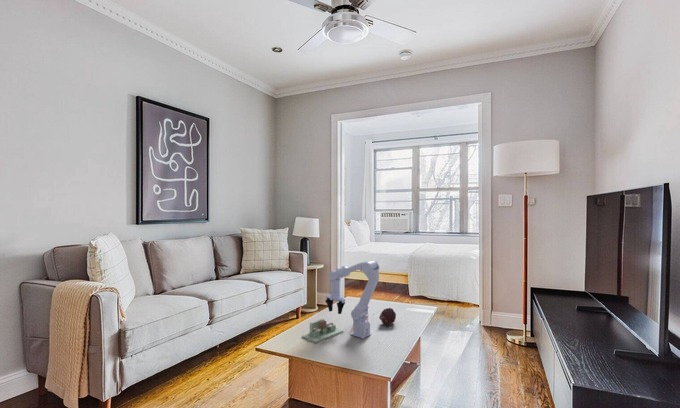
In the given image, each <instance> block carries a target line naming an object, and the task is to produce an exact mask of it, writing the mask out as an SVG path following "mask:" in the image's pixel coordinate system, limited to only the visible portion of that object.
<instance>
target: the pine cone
mask: <svg viewBox="0 0 680 408" xmlns="http://www.w3.org/2000/svg"><path fill="white" fill-rule="evenodd" d="M396 317H397V314H396V312H395V310H394V309H393V308H391V307H389V308H384V309H383V310H382V311H381V312H380V313H379V320H381V323H382V324H383V325H385V326H390V325H393V323H395V320H396V319H397V318H396Z"/></svg>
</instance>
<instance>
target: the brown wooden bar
mask: <svg viewBox="0 0 680 408" xmlns="http://www.w3.org/2000/svg"><path fill="white" fill-rule="evenodd" d="M333 324H334V323H333V322H330V323H327V321H326V320H325V319H324V320H321V321H319V327H318V328H314V329H312V332H315V331H316V332H318V331H321V329H325V328H326V327H332V325H333Z"/></svg>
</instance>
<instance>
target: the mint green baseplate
mask: <svg viewBox="0 0 680 408" xmlns="http://www.w3.org/2000/svg"><path fill="white" fill-rule="evenodd" d="M321 320H324V321H325V318H319V319H317V320H313V321H309V333H305V334H303V335H301V338H303V339H304V340H308V341H311V342H313V343H314V344H318V343H320V342H323V341H325V340H328V339H330V338H333V337H336V336H338V335H340V334H341V335H342V333H344V329H339V328H336V324H334V323H333V325H332V327H326V328H325V329H321V331H318V332H316V331H315V332H312V329H314V328H318V327H319V321H321Z"/></svg>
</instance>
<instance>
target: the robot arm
mask: <svg viewBox="0 0 680 408" xmlns="http://www.w3.org/2000/svg"><path fill="white" fill-rule="evenodd" d="M379 270H380V265H379V263H378V262H377V261H376V260H373V259H372V260H368V261H364V262H359V263H357V264H354V265H351V266H345V265H342V266H341V267H340V268H335V270H331V271H330V272H328V279H329V280H330V287H329V289H330V294H327V295H325V303H326V306H327V308H328V311H329V312H332V311H333V304H334V301H336V306H337V314H338V315H341V314H342V313H343V312H342V311H343V309H344V306H345V304H346V298H344V297H341V279H343V278H346V277H348V276H349V277H350V275H351V273H352V272H356V271H360V272H363V274H364V275H365V276H366V277H367V280H368V281H367V283H366V285H365V287H364V290H363V292H362V294H361V297H360V299H359V301H358V303H357V304H356V305H355V307H354V308H353V309H352V310H351V311H350V317H351V319H352V322H353V325H352V326H353V330H352V332H351V333H349V334H350V335H351V336H354V337H357V338H359V339H364V338H367V337H369V336H371V335H372V333H371V323H370V322H369V321H368V320H367V319H366V318H367V315H369V311H368V310H369V304H370V301H371V298H372V296H373V294H374V291H375V289H376V287H377V285H378V282H379V281H380V273H379Z"/></svg>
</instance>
